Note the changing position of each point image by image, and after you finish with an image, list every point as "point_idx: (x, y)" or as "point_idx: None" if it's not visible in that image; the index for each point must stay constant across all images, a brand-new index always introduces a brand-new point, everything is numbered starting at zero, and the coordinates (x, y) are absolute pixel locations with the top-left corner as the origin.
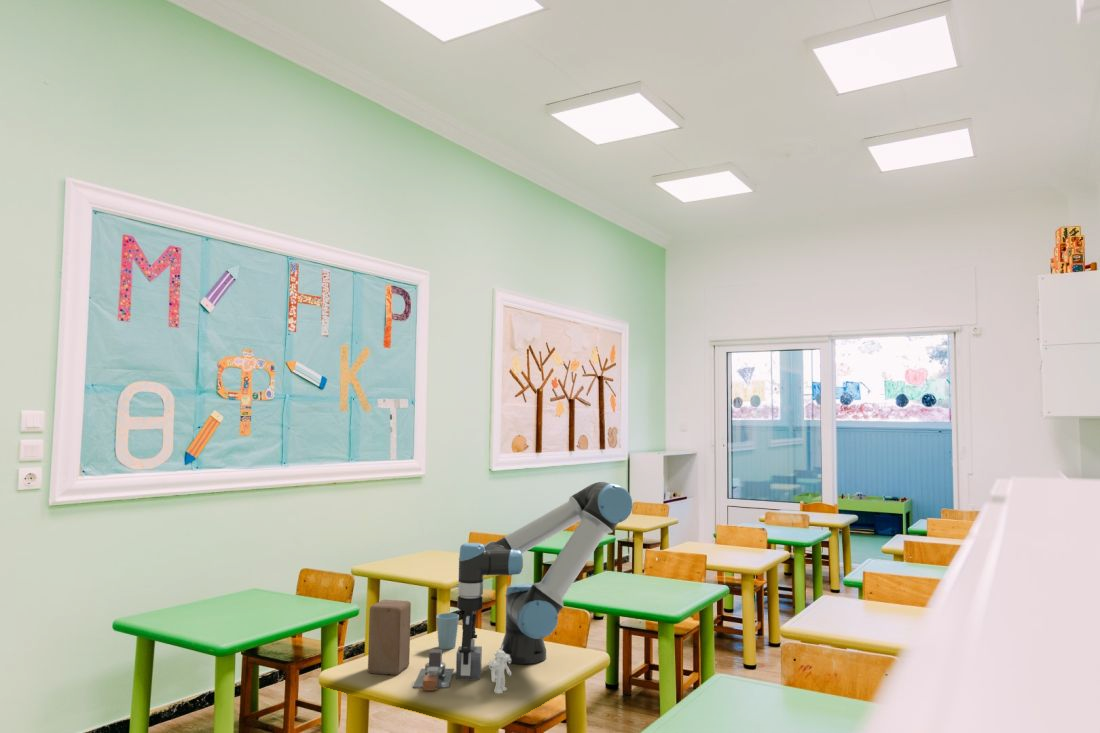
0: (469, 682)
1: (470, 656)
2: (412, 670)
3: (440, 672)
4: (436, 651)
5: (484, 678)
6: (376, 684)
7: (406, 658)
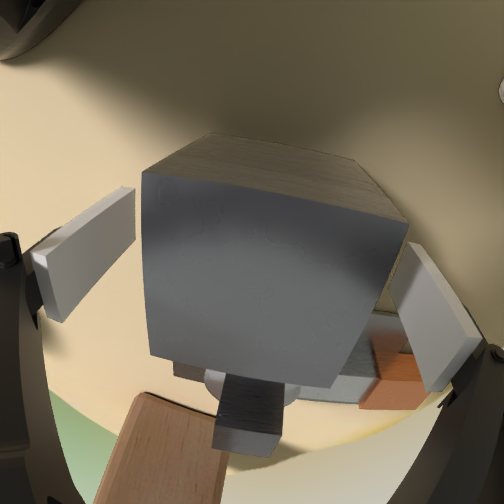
0: None
1: (469, 318)
2: (181, 389)
3: None
4: (253, 442)
5: (341, 128)
6: (295, 447)
7: (162, 427)
